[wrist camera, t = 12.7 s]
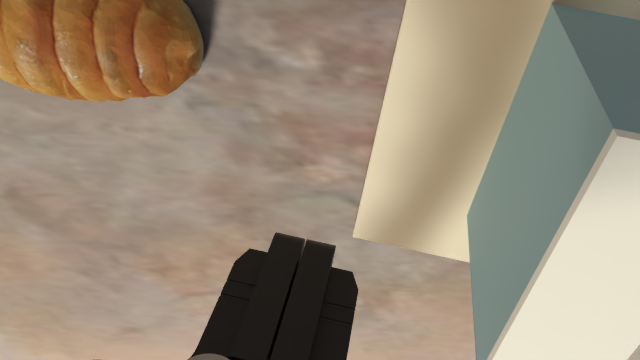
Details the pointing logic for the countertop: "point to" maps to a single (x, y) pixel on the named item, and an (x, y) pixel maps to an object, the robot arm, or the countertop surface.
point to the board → (448, 115)
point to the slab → (563, 200)
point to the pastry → (99, 47)
